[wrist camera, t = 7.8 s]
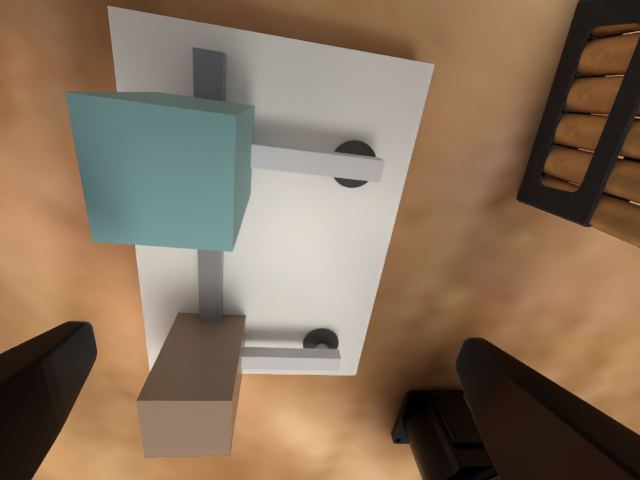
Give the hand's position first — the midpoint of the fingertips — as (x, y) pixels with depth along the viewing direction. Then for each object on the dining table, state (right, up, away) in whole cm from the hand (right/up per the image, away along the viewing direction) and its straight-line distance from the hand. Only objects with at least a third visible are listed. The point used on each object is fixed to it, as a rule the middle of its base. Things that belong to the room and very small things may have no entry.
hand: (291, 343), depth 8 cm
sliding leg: (-1, +7, +7) cm, 10 cm away
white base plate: (-2, +3, +12) cm, 12 cm away
